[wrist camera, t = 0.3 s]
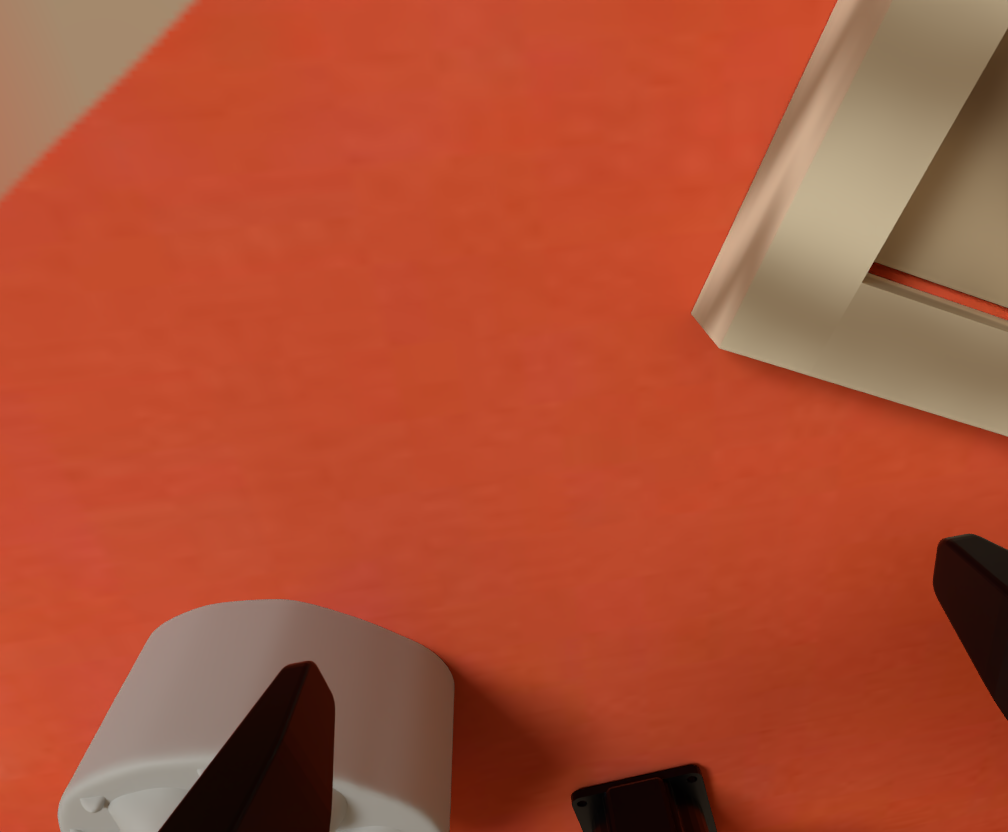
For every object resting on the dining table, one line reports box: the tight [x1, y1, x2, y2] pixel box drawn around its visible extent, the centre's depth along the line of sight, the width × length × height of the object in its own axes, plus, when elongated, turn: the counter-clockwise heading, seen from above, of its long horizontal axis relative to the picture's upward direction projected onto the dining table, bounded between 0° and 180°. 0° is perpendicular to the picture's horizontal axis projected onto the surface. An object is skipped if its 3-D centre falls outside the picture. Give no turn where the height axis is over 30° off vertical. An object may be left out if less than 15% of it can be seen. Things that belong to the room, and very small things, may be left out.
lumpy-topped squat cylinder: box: [58, 599, 454, 832], centre depth 27 cm, size 10×13×9 cm
